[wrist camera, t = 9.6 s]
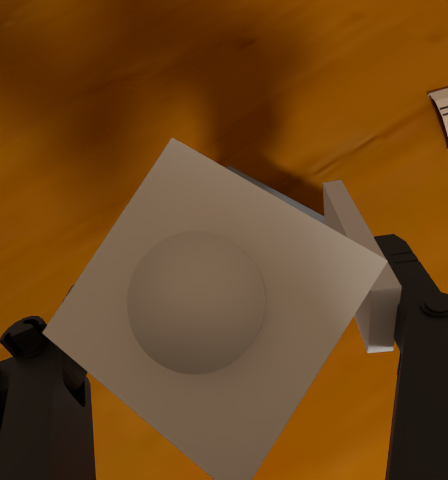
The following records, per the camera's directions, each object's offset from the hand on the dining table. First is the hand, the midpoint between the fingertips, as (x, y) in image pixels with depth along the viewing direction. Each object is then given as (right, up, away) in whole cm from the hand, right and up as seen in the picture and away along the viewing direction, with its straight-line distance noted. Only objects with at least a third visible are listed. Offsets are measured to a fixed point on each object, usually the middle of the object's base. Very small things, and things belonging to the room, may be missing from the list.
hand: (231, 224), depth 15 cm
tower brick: (+1, -4, +3) cm, 5 cm away
